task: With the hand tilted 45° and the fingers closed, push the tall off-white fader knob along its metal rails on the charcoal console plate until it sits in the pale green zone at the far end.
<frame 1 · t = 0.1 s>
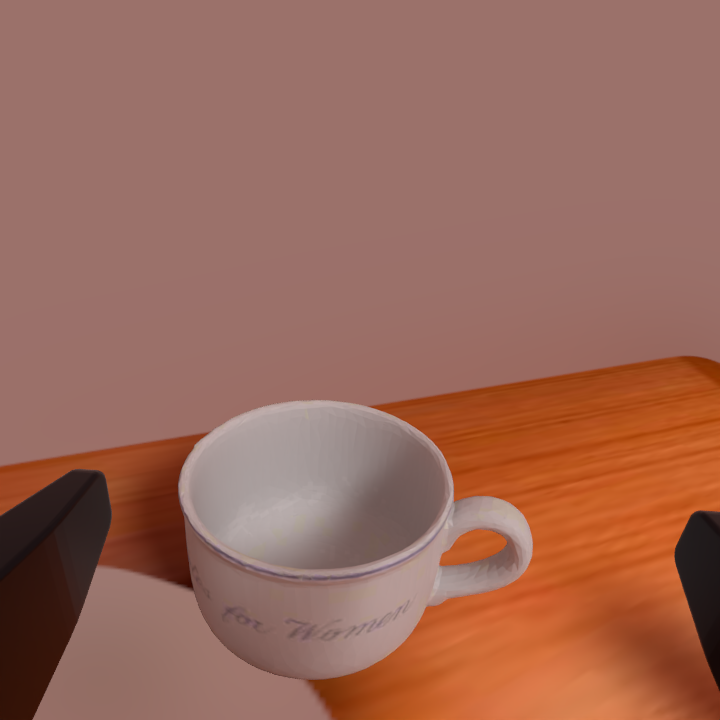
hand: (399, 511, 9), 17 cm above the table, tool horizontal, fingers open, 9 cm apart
teacup: (344, 613, 26), on the table
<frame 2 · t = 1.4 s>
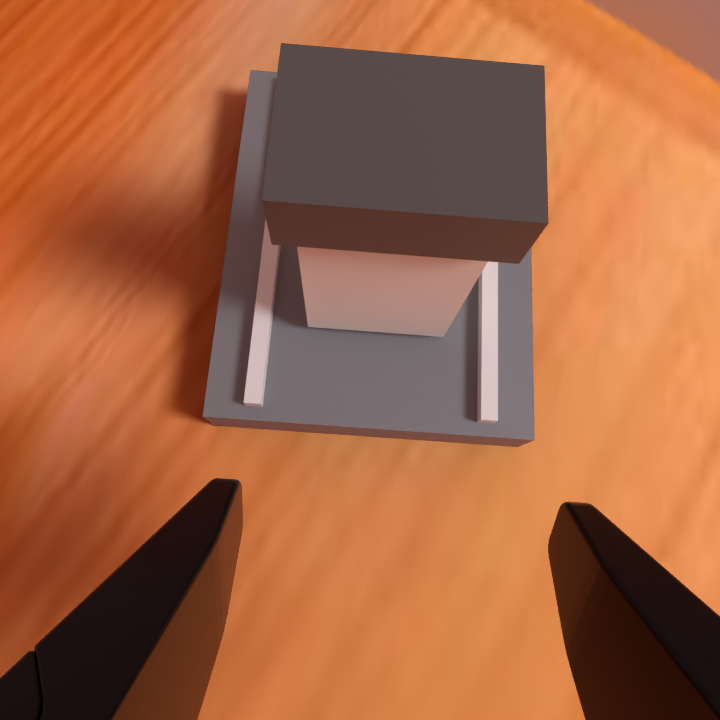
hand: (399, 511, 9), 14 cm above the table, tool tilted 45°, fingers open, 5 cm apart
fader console: (377, 261, 25), on the table
fader knob: (389, 233, 17), point 7 cm above the table, slide at 0.0 cm
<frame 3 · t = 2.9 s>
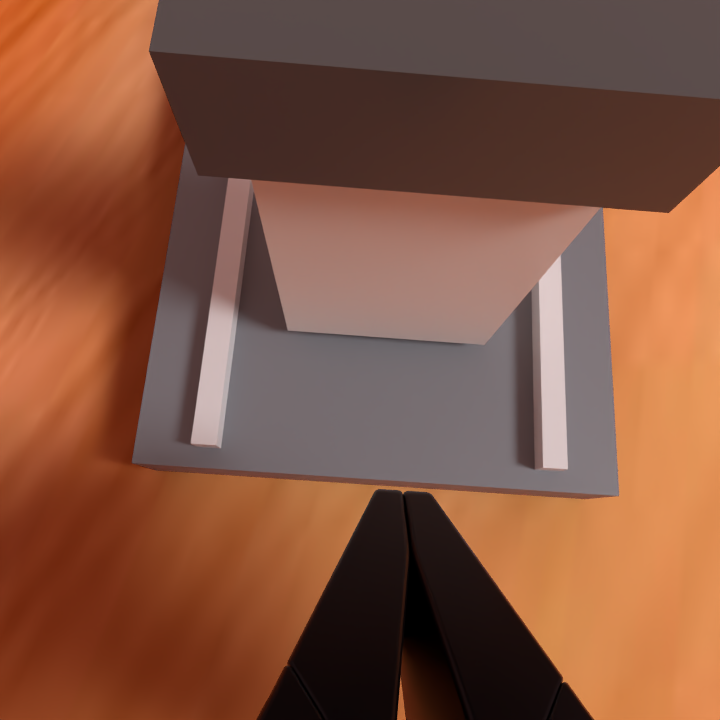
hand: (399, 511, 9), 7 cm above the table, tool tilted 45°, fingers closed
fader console: (386, 240, 18), on the table
fader knob: (413, 179, 11), point 7 cm above the table, slide at 0.0 cm
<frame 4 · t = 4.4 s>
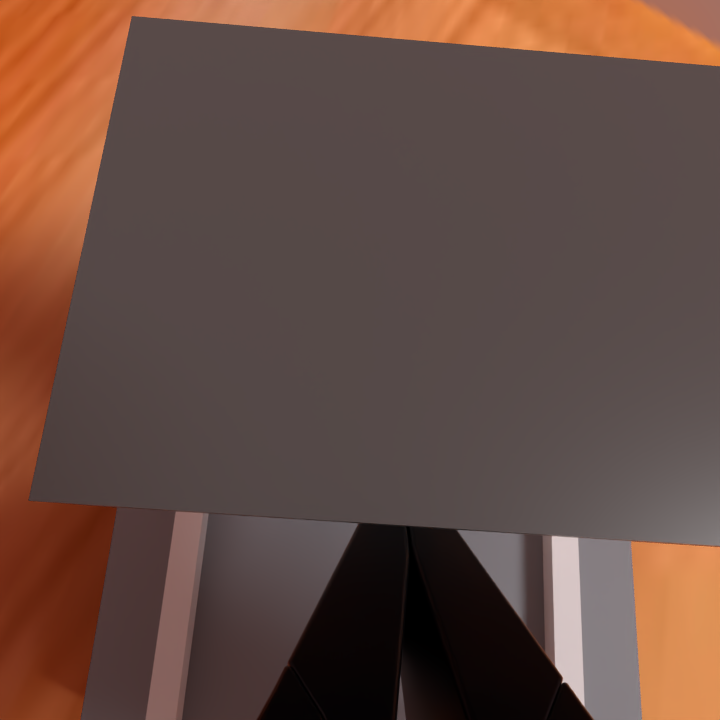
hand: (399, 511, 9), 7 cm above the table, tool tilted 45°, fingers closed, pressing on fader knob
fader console: (377, 422, 16), on the table
fader knob: (407, 393, 9), point 7 cm above the table, slide at 1.7 cm, touching gripper
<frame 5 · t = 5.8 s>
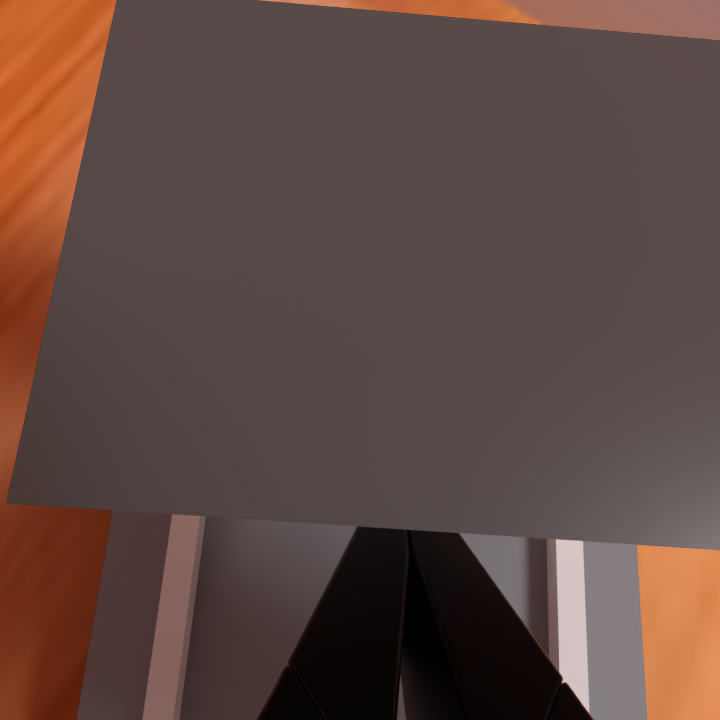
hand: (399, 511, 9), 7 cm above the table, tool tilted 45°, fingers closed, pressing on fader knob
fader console: (368, 591, 15), on the table
fader knob: (409, 388, 9), point 7 cm above the table, slide at 6.2 cm, touching gripper
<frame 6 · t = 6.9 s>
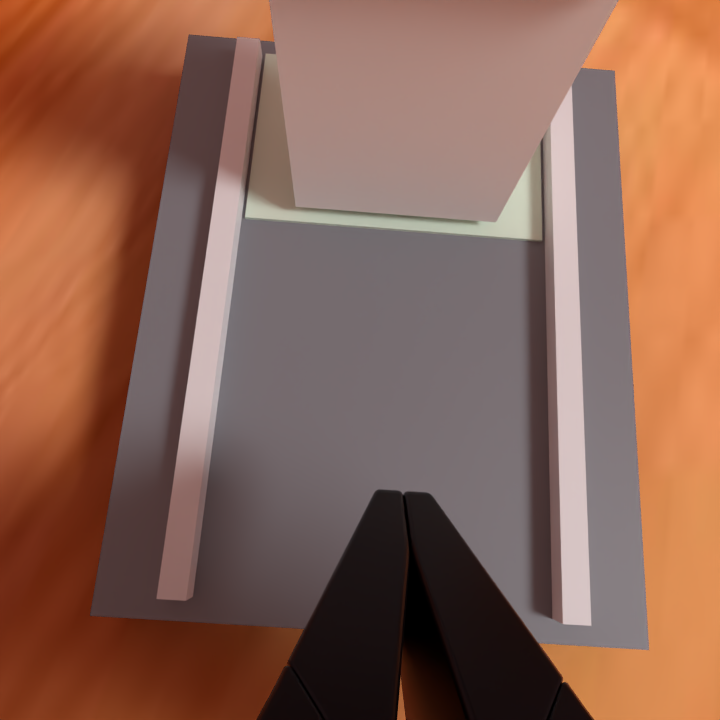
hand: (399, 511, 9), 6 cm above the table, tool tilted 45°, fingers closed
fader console: (383, 328, 16), on the table
fader knob: (427, 3, 10), point 7 cm above the table, slide at 6.2 cm
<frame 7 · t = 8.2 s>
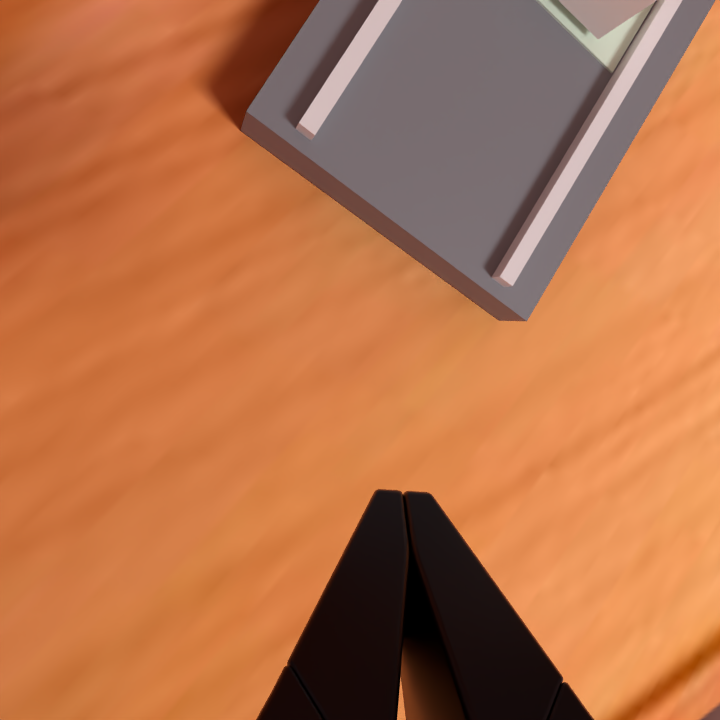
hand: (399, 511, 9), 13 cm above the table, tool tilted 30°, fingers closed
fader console: (481, 70, 22), on the table
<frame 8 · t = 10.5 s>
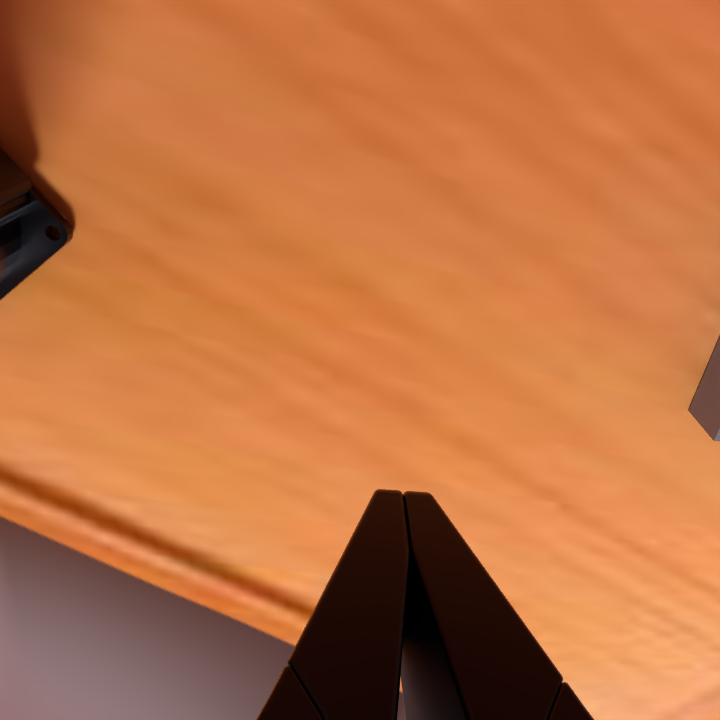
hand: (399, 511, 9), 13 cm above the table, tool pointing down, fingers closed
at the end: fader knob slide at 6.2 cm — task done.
